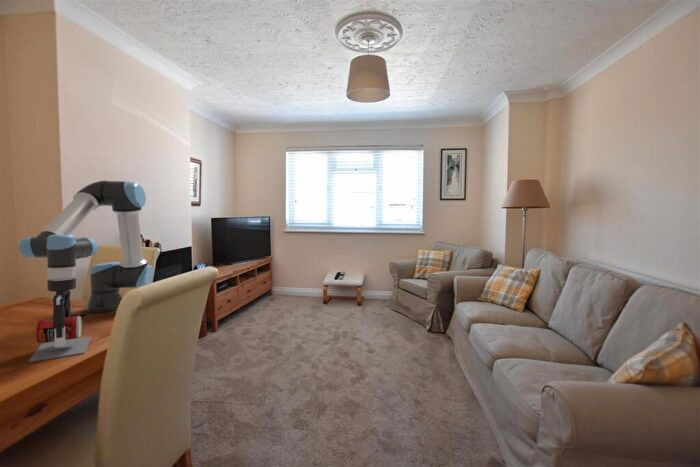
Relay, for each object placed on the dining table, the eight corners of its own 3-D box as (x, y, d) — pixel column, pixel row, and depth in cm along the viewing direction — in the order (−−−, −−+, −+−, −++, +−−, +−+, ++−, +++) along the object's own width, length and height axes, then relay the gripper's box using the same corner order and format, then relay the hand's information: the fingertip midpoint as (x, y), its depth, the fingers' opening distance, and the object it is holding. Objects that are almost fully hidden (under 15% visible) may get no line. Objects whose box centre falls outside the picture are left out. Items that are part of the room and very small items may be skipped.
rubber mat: (41, 344, 118) (41, 343, 118) (90, 338, 126) (90, 337, 125) (28, 362, 104) (28, 360, 104) (84, 353, 112) (84, 352, 112)
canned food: (34, 331, 107) (77, 326, 113) (40, 315, 113) (80, 311, 119) (37, 348, 110) (79, 342, 116) (42, 331, 116) (82, 327, 122)
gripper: (54, 274, 120) (55, 334, 122) (39, 285, 103) (40, 355, 104) (80, 272, 124) (80, 330, 126) (70, 283, 107) (71, 350, 108)
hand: (62, 341), depth 115 cm, fingers closed on canned food, 8 cm apart
